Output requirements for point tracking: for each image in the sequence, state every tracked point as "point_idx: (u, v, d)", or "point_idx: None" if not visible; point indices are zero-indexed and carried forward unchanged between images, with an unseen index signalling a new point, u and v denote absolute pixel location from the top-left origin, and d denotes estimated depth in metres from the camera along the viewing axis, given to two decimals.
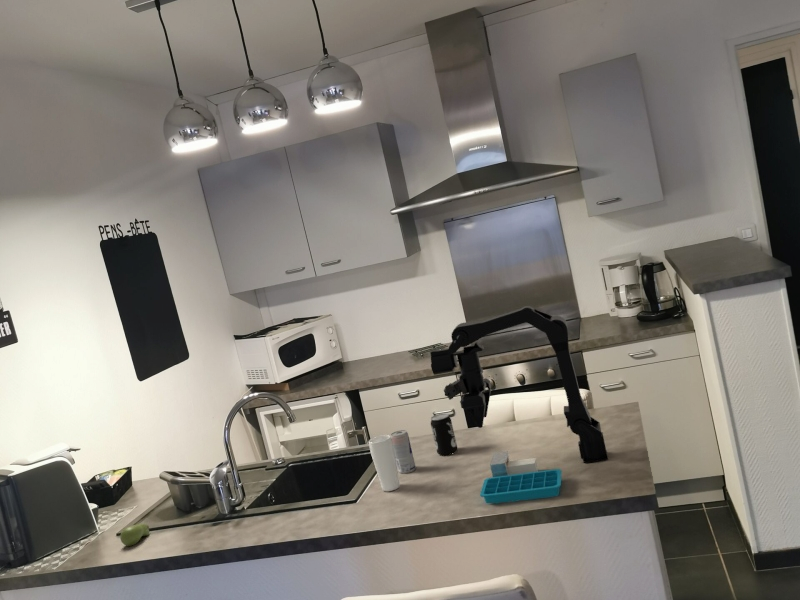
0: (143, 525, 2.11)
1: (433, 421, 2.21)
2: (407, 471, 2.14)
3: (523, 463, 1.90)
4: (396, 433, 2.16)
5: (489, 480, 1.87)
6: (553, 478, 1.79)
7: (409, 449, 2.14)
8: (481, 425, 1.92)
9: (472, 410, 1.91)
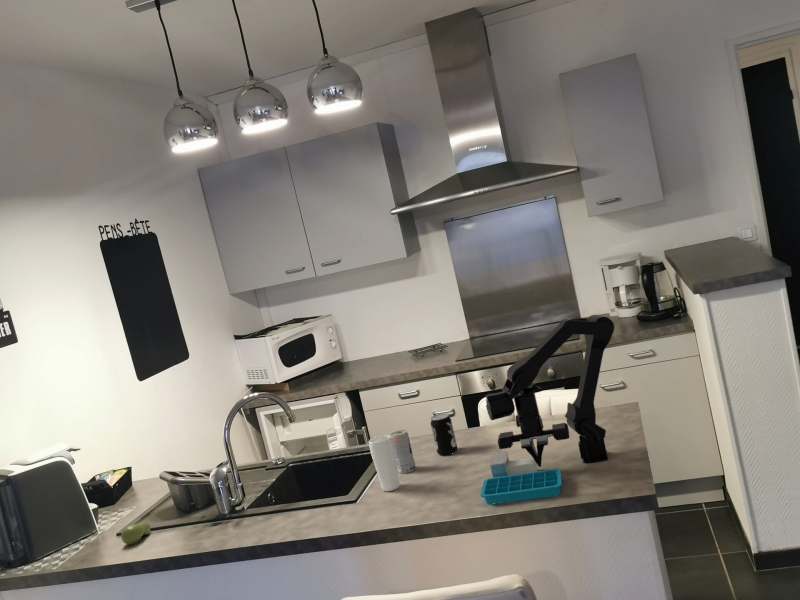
0: (144, 524, 2.12)
1: (433, 421, 2.21)
2: (407, 471, 2.14)
3: (522, 463, 1.90)
4: (396, 433, 2.16)
5: (488, 480, 1.86)
6: (553, 477, 1.80)
7: (409, 449, 2.14)
8: None
9: None
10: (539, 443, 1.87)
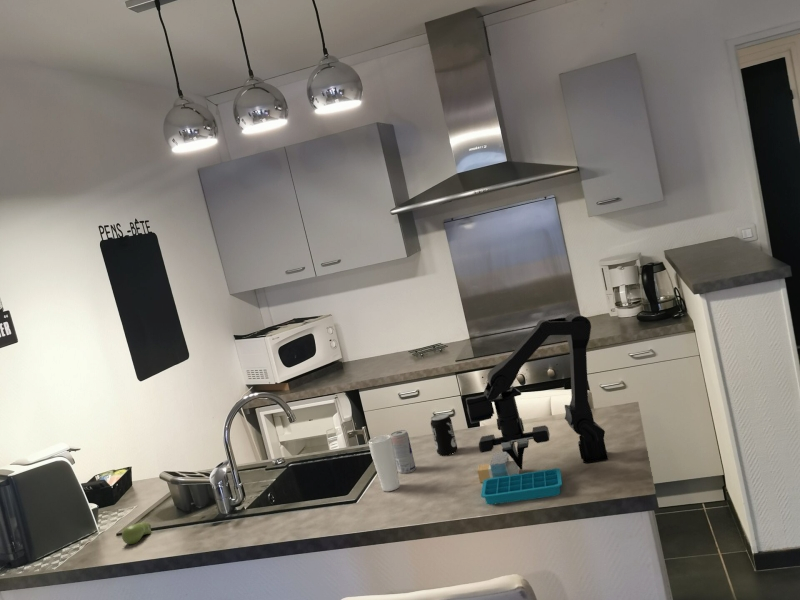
0: (145, 524, 2.12)
1: (433, 421, 2.21)
2: (407, 471, 2.14)
3: None
4: (396, 433, 2.16)
5: (488, 481, 1.86)
6: (552, 477, 1.80)
7: (409, 449, 2.14)
8: None
9: None
10: (519, 446, 1.89)
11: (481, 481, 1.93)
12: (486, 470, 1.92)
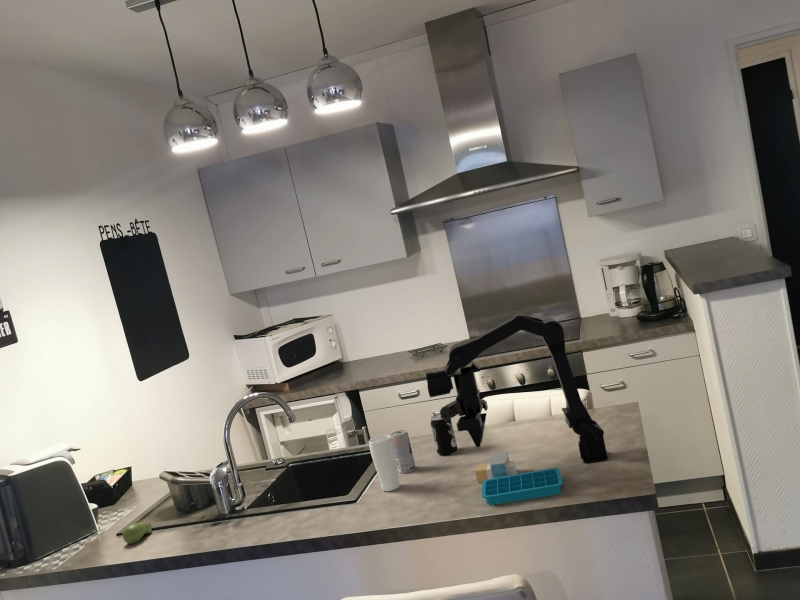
0: (145, 523, 2.12)
1: (433, 421, 2.21)
2: (407, 471, 2.14)
3: None
4: (396, 433, 2.16)
5: (487, 482, 1.86)
6: (552, 477, 1.80)
7: (409, 449, 2.14)
8: (479, 444, 1.91)
9: (470, 429, 1.90)
10: (482, 415, 1.95)
11: (479, 481, 1.93)
12: (484, 470, 1.92)
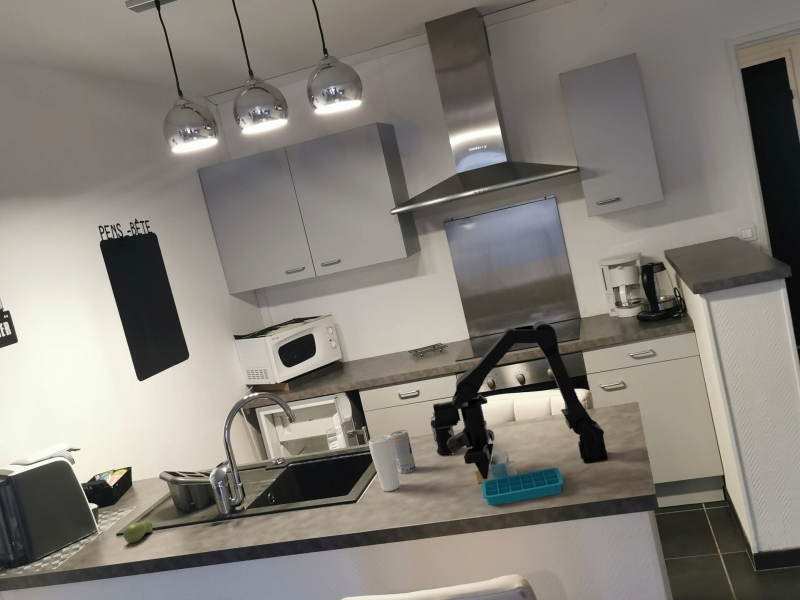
0: (146, 523, 2.13)
1: (433, 421, 2.21)
2: (407, 471, 2.14)
3: None
4: (396, 433, 2.16)
5: (486, 482, 1.86)
6: (552, 476, 1.81)
7: (409, 449, 2.14)
8: (486, 476, 1.91)
9: None
10: (489, 446, 1.96)
11: (479, 481, 1.93)
12: None
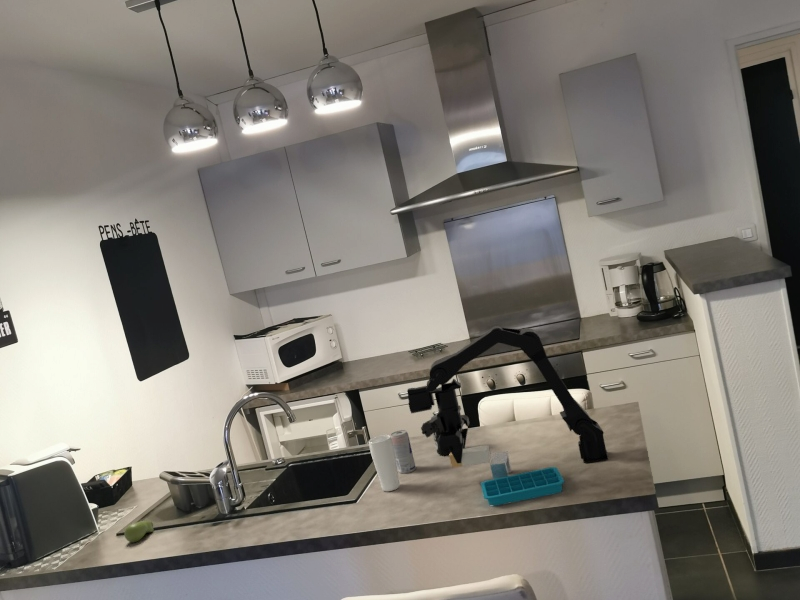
0: (147, 522, 2.13)
1: None
2: (407, 471, 2.14)
3: (475, 451, 1.92)
4: (396, 433, 2.16)
5: (485, 483, 1.85)
6: (551, 475, 1.81)
7: (409, 449, 2.14)
8: (460, 461, 1.92)
9: (451, 446, 1.91)
10: (464, 430, 1.97)
11: (453, 466, 1.94)
12: None
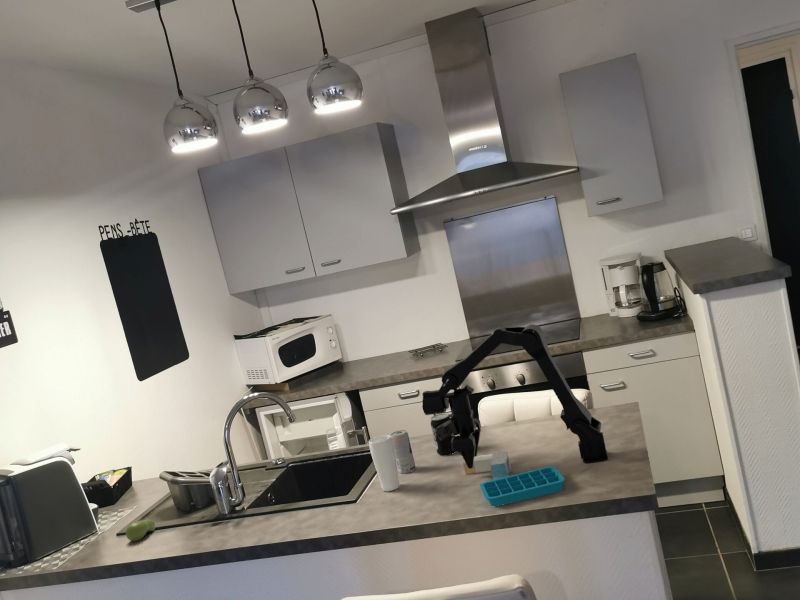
0: (148, 521, 2.14)
1: (433, 421, 2.21)
2: (407, 471, 2.14)
3: (488, 458, 2.00)
4: (396, 433, 2.16)
5: (484, 485, 1.84)
6: (550, 475, 1.82)
7: (409, 449, 2.14)
8: (471, 466, 1.98)
9: (462, 452, 1.97)
10: (477, 431, 2.07)
11: (466, 473, 2.02)
12: None
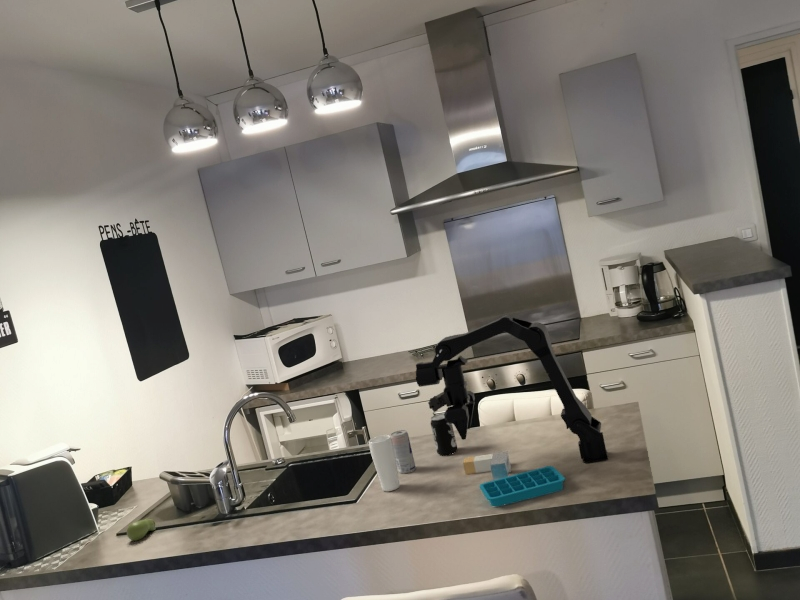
0: (149, 520, 2.14)
1: (433, 421, 2.21)
2: (407, 471, 2.14)
3: (488, 458, 2.00)
4: (396, 433, 2.16)
5: (484, 485, 1.84)
6: (549, 474, 1.82)
7: (409, 449, 2.14)
8: (464, 437, 1.97)
9: (456, 422, 1.96)
10: (471, 403, 2.06)
11: (466, 473, 2.02)
12: (471, 462, 2.01)
